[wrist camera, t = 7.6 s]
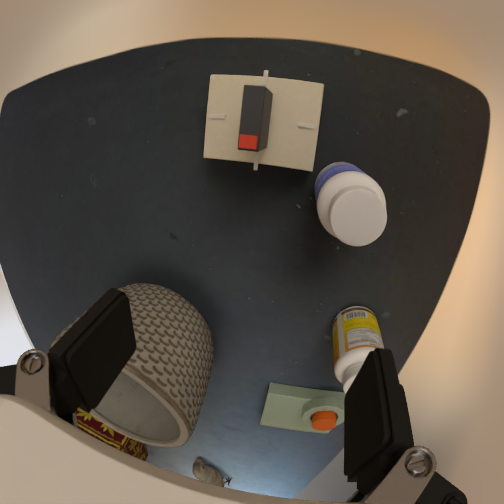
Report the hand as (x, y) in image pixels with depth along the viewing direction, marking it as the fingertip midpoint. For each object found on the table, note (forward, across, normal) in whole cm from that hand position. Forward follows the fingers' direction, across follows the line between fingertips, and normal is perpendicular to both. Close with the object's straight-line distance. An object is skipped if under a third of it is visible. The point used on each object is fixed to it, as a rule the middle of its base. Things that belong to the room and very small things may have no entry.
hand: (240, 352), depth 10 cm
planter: (+20, +13, +18) cm, 30 cm away
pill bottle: (+20, -5, -3) cm, 21 cm away
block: (+20, -9, +31) cm, 38 cm away
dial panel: (+20, +3, -8) cm, 22 cm away
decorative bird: (+20, +5, +73) cm, 76 cm away
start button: (+17, -12, +28) cm, 35 cm away
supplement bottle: (+20, -11, +12) cm, 26 cm away
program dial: (+18, +3, -8) cm, 20 cm away
